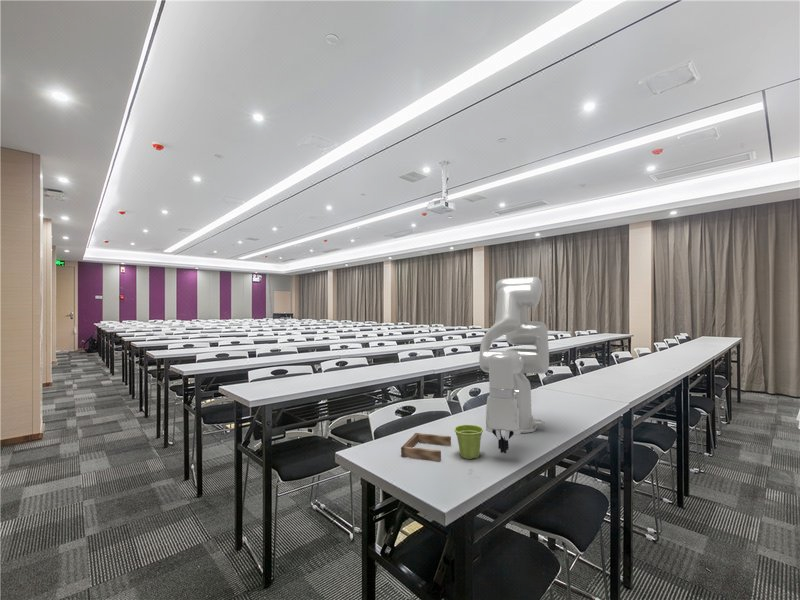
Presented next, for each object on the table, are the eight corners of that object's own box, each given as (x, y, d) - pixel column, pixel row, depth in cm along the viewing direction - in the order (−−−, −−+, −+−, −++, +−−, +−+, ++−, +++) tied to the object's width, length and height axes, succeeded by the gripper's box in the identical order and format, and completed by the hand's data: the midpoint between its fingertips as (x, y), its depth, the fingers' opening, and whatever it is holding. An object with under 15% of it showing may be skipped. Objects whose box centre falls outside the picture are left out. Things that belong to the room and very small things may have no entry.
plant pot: (451, 458, 117) (450, 431, 117) (460, 448, 125) (459, 423, 125) (479, 463, 112) (478, 435, 113) (487, 452, 121) (486, 426, 121)
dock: (451, 444, 129) (450, 436, 129) (440, 461, 115) (439, 452, 115) (415, 441, 133) (415, 432, 133) (401, 456, 119) (401, 447, 119)
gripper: (526, 391, 116) (529, 450, 115) (479, 389, 122) (481, 444, 121) (525, 396, 109) (528, 458, 108) (476, 394, 115) (477, 453, 114)
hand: (503, 451), depth 115 cm, fingers closed
